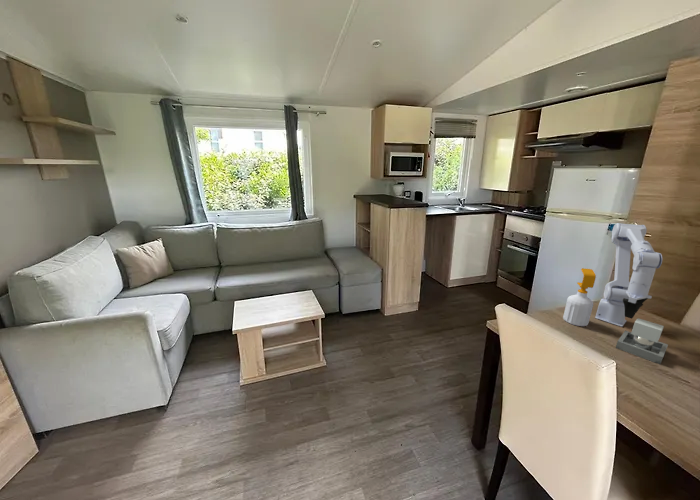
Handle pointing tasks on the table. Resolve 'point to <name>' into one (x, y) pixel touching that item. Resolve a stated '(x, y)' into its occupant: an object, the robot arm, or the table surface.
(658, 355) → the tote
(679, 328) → the table surface
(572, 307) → the soap bottle
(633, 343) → the metal can
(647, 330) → the pale upright block
